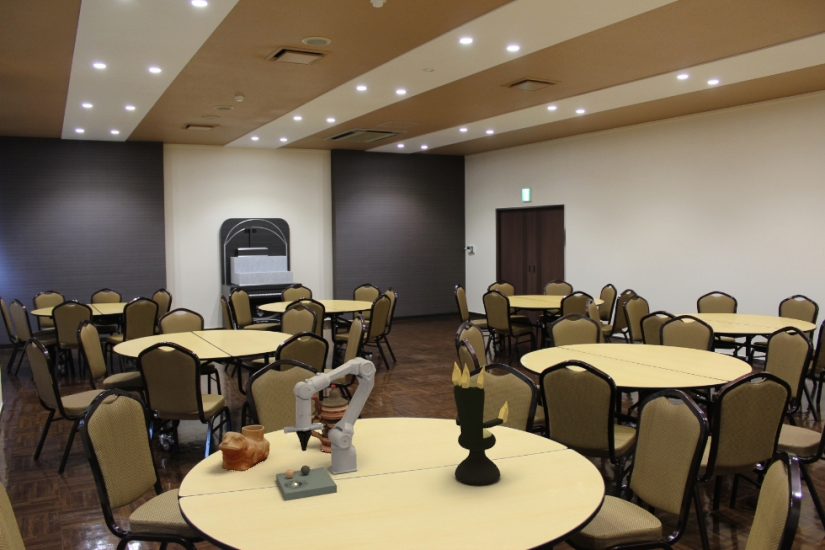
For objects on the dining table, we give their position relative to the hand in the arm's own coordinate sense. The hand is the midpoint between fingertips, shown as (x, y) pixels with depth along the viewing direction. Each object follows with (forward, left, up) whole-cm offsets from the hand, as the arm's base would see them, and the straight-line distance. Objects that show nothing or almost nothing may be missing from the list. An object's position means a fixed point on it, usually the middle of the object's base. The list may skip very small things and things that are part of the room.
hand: (303, 450), depth 245 cm
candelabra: (-58, +29, -11) cm, 65 cm away
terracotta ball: (+6, +5, -6) cm, 10 cm away
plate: (+1, +9, -10) cm, 14 cm away
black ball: (0, +4, -6) cm, 7 cm away
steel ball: (+6, +12, -9) cm, 16 cm away
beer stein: (-19, -30, -11) cm, 37 cm away
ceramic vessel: (+19, -26, -11) cm, 34 cm away
